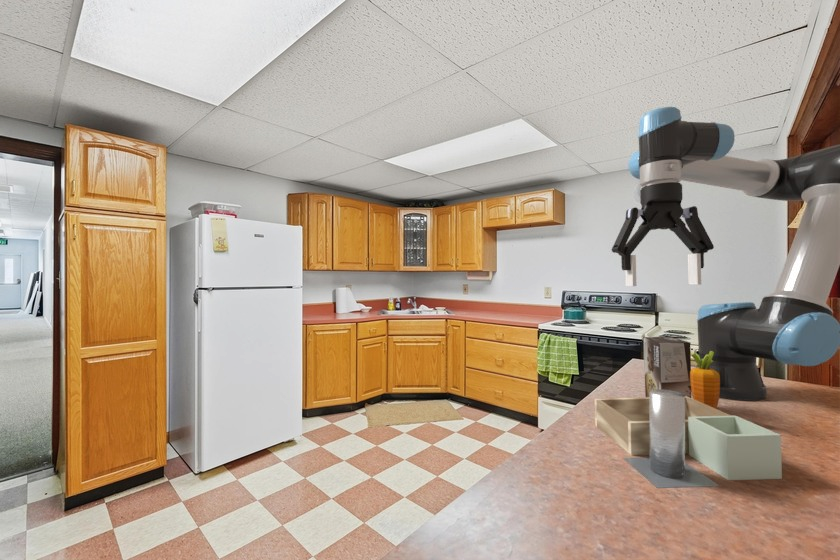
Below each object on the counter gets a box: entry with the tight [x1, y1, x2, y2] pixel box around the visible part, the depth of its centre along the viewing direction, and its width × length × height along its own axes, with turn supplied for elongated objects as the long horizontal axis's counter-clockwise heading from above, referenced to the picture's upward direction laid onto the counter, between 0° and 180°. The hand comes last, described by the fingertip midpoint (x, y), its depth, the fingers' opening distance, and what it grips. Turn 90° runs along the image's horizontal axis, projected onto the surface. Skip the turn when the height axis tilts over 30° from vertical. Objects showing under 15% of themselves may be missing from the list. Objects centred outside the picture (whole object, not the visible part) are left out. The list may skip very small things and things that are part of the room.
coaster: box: [622, 456, 720, 489], centre depth 59 cm, size 9×9×1 cm
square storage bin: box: [688, 415, 783, 481], centre depth 60 cm, size 8×8×7 cm
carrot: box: [690, 351, 720, 410], centre depth 78 cm, size 5×5×15 cm
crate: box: [594, 396, 732, 456], centre depth 71 cm, size 19×13×6 cm
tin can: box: [649, 389, 686, 479], centre depth 59 cm, size 5×5×12 cm
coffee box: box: [643, 336, 692, 398], centre depth 87 cm, size 9×6×16 cm
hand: (662, 285), depth 80 cm, fingers open, 13 cm apart
